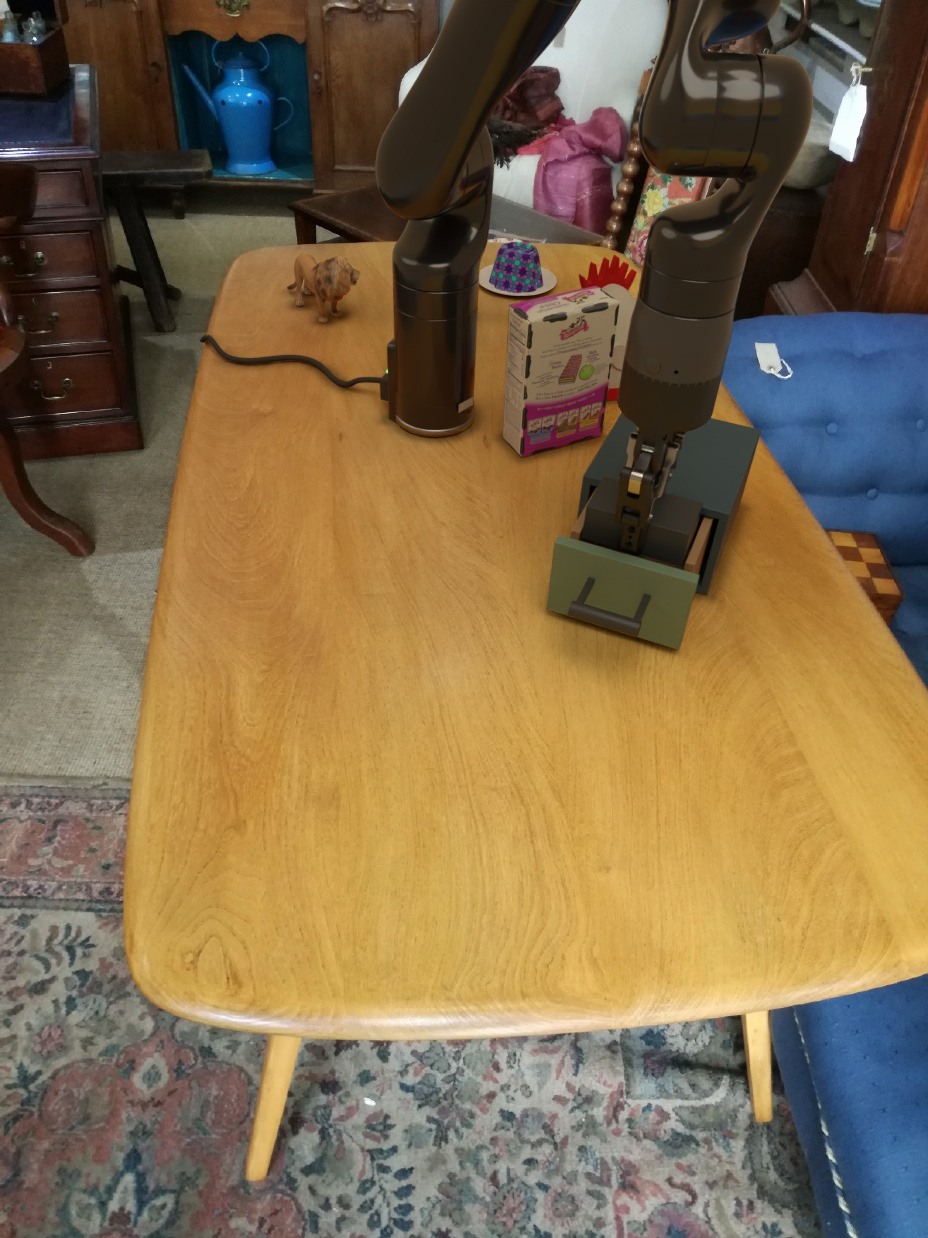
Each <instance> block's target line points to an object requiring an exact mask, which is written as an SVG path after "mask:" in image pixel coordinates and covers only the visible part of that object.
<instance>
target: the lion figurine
mask: <svg viewBox="0 0 928 1238" xmlns="http://www.w3.org/2000/svg"><path fill="white" fill-rule="evenodd" d="M293 266H294V267H293V274H294V279H295V280H294V281H293V283H292V284H290V285H288V286H286V289H287V290H289V291H292V290H294V289H295V297H296V298H295V306H296V307H298V308H299V307H303V306H305V302H304V300H303V298H302V287H303V292H304V294H305V295H307V296H310V295H313V294H314V296H315V300H316V306H317V311H318V322H319V323H321V324H326V323H328V322H329V320H328V315H327V313H326V301H327V302H330V314H331V315H332V316H333V317H335V318H339V317H340V316H342V311H341V310H338V303H339V302H340V301H341V300H342V299H343V297H344V296H347V294H348V293H349V292H350V291H351V290H352V286H357V284H358V281H359V280H360V275H361V272H360V271H359V270H358V269H356V268H354V267H353V266H352V265H351V264H349V262H348V258H347V257H346V256H344V255H340V256H338V255H336V256H333V257H330V258H329V259H325V260H324V261H319V262H318V263H317V262H316V259H315V257H314V256H313V255H311V254H309V253H304V252H302V253H300V254H299V255H298V256H297V257H296V258H295V260H294V265H293Z"/></svg>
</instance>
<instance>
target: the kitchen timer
mask: <svg viewBox="0 0 928 1238" xmlns="http://www.w3.org/2000/svg"><path fill="white" fill-rule="evenodd" d="M620 260H621V259H620V257H619V256H617V254H613V255H612V257H611V261H610V259H609V258H607V257H605V256H604V257H603V258H602V261H601V264H600V267H599V270H598V266H597V264H596V263H594V262H593V261H590V262H589V266H588V272H587V279H586V278H585V276H583V275H582V274H580V273H579V274H578V281H579V285H580V287H581V288H580V289H583V288H588V287H593V286H597V287H599V288H601V289H602V291H605V292H606V293H608V294H609V295H610V296H612V297H613V298H615V299H616V300H618V301H619V302H620V304H619V312H618V319H617V326H616V333H615V342H614V349H613V356H612V364H611V369H610V378H609V385H608V394H607V401H617V397H618V391H619V385H620V379H621V373H622V367H623V361H624V355H625V349H626V343H627V336H628V330H629V325H630V320H631V316H632V313H633V310H634V307H635V303H636V300H637V298H635V297H634V296H633V294H632V293H631V292H630V291H629V290H630V289H631V286H632V285H633V282H634V280H635V278H636V276H637V270H635V269H633V268H631V269H630V270H629V267H630V264H629V263H628V262H625V261H622V262H621V264H620ZM628 270H629V272H628ZM627 273H628V274H627ZM607 401H606V402H607Z"/></svg>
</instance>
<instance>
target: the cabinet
mask: <svg viewBox="0 0 928 1238" xmlns="http://www.w3.org/2000/svg"><path fill="white" fill-rule="evenodd" d="M632 432H634V433H637V426H636V425H635V424H634V423H633V422H632V421H631V420H629V419H628V418H626V417H625V416H624V415H623V413H622V412H620V415H619V416H618V418H617V419H616V421H615V423H614V424H613V425H612V428H611V429H610V431H609V433H608V434H607V436H606V437H605V439H604V441H603V443H602V444H601V446H600V447H599V449H598V450H597V452H596V454H595V456H594V457H593V459H592V461H591V462H590V464H589V466H588V467H587V468H586V471H585V472H584V474H583V475H582V482H581V489H580V495H579V502H578V509H577V516H576V521H577V520H578V518H579V516H580V515H581V513H582V511H583V509H584V508H585V506H586V504H587V503H588V501H589V499H590V497H591V496H592V494H593V492H594V490H595V489H596V487H598V485H599V484H600V482H601V480H602V479H603V477H608V478H612V479H616V480H620V476H619V474H620V471H621V470H622V469H623V467H624V466H626V463H627V459H628V454H627V446H628V442H629V439H630V436H631V433H632ZM761 433H762V429H759V428H755V427H752V426H751V427H750V426H746V425H742V424H739V423H734V422H730V421H726V420H721V419H718V418H713V417H711V418H710V419H709V421H708V422H707V423H706V424H704V425H703V426H701V427H699V428H697V429H694V430H691V431H687V436H686V439H685V442H684V444H683V447H682V449H681V456H680V459H679V461H678V464H677V466H676V468H675V469H672V473H673V476H672V479H670V480H669V482H667V487H666V491H665V493H668V494H672V495H676V496H680V497H684V498H687V499H691V500H695V501H699V502H702V503H703V505H702V509H701V513H700V514H702V515H706V516H709V517H713V518H717V520H716V523H715V527H714V531H713V534H712V538H711V542H710V545H709V549H708V552H707V555H706V558H705V560H704V563H703V565H702V568H701V571H700V573H699V575H700V576H699V580H698V584H697V587H696V591H695V593H697V594H701V595H704V596H708V594H709V590H710V589H711V586H712V582H713V580H714V577H715V574H716V572H717V569H718V566H719V564H720V561H721V559H722V556H723V553H724V551H725V547H726V545H727V542H728V540H729V536H730V534H731V531H732V528H733V526H734V524H735V520H736V517H737V515H738V512H739V510H740V506H741V502H742V499H743V496H744V493H745V488H746V486H747V482H748V479H749V475H750V472H751V468H752V465H753V461H754V457H755V454H756V451H757V447H758V443H759V441H760V436H761Z"/></svg>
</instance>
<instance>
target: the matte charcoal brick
mask: <svg viewBox="0 0 928 1238" xmlns="http://www.w3.org/2000/svg"><path fill="white" fill-rule="evenodd" d="M619 481H620V480H616V479H612V478H608V477H603V479H602V480H601V482H600V484H599V485H598V487H597V489H596V491H595V492H594V494H593V496H592V498H591V499H590V501H589V503H588V504H587V506H586V513H585V519H584V526H583V532H582V538H584V539H587V540H591V541H594V542H598V543H601V544H605V545H608V546H612V547H615V548H617V543H618V538H619V532H620V527H621V523H619V522H616V521H615V513H616V507H617V498H618V489H619ZM702 505H703V503H702V502H699V501H695V500H691V499H687V498H684V497H680V496H676V495H672V494H668V493H665V492H664V493H663V494H662V495H661V497H659V498H656V501H655V505H654V509H653V513H652V514H653V518H652V520H650V522H649V527H648V531H647V536H646V541H645V545H644V549H643V551H642V553H641V555H643V556H647V557H650V558H654V559H657V560H661V561H664V562H668V563H671V564H675V565H678V566H682V565H683V562H684V560H685V557H686V555H687V553H688V550H689V548H690V545H691V543H692V540H693V538H694V536H695V533H696V529H697V525H698V521H699V517H700V513H701V509H702Z"/></svg>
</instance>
